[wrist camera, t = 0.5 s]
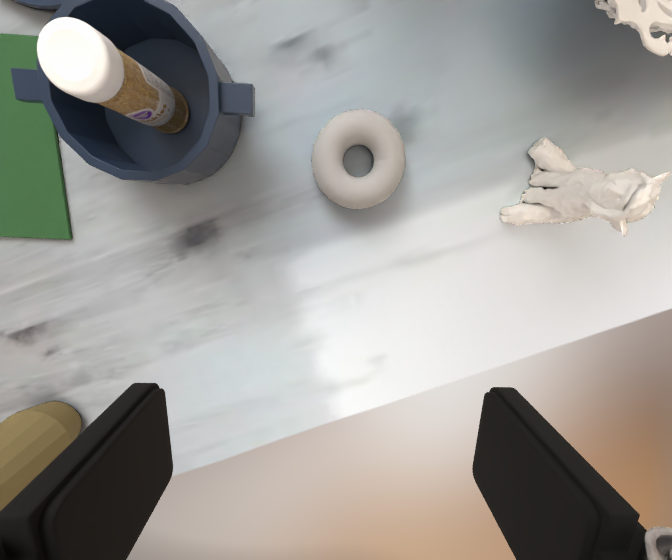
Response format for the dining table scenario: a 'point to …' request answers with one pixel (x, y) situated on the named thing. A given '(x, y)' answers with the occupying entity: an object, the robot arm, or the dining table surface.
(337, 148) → the donut
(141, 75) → the sprinkles bottle
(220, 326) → the dining table surface
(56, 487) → the robot arm
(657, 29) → the white wicker basket
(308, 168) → the dining table surface
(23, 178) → the green flat rectangular board
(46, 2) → the lid
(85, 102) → the pot
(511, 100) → the dining table surface
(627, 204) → the seated beast figurine
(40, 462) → the squeeze bottle
